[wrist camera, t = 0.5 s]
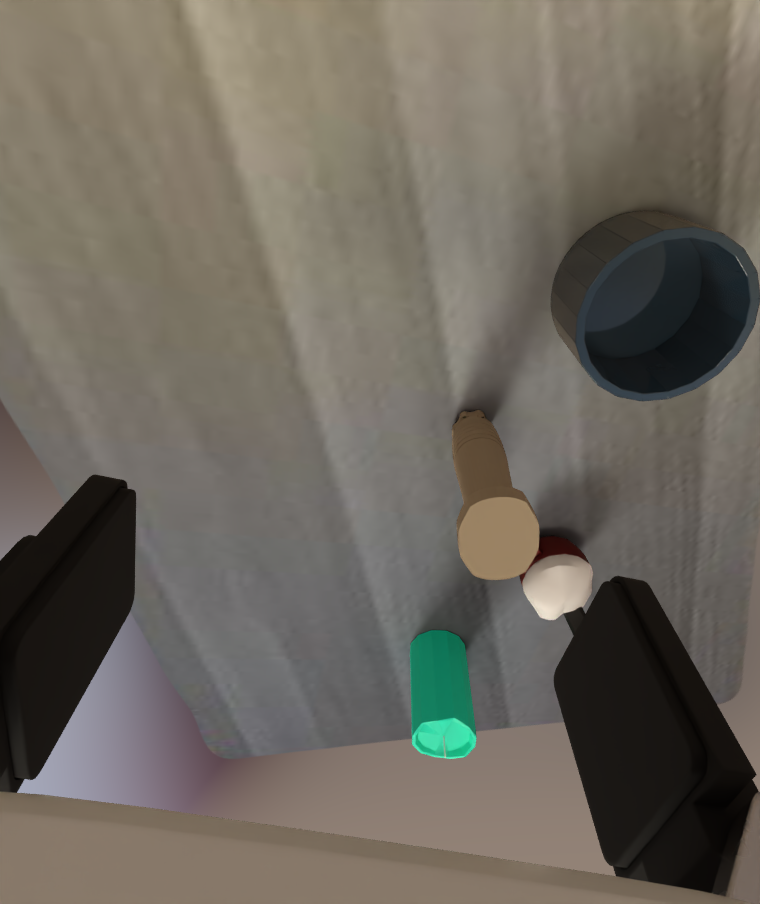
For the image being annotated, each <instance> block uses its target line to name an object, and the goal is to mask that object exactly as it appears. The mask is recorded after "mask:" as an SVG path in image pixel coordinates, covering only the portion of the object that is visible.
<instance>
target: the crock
mask: <svg viewBox="0 0 760 904" xmlns="http://www.w3.org/2000/svg"><path fill="white" fill-rule="evenodd" d="M759 303H760V289H759V281H758V273H757V270H756V268H755V266H754V265H753V263H752V261H751V259H750V258H749V256H748V254H747V252H746V251H745V249H744V248H743V247H742V246H740V245H739V244H737V243H736V242H735V241H733V240H732V239H730V238H729V237H728V236H726V235H725V234H723V233H721V232H718V231H716V230H713V229H710V228H707V227H704V226H702V225H699V224H696V223H693V222H690V221H688V220H685V219H682V218H679V217H676V216H672V215H668V214H664V213H661V212H655V211H635V212H628V213H624V214H620V215H617V216H615V217H612V218H610V219H607V220H606V221H604V222H602V223H600V224H598V225H597V226H595V227H594V228H592V229H591V230H589V231H588V232H587V233H586V234H585V235H583V236H582V237H581V238H580V239H579V240H578V241H577V242H576V243H575V244H574V245H573V247H572V248H571V249H570V250H569V252H568V253H567V255H566V256H565V258H564V259H563V261H562V263H561V265H560V266H559V269H558V271H557V273H556V276H555V279H554V283H553V286H552V293H551V312H552V317H553V321H554V324H555V327H556V329H557V331H558V334H559V336H560V337H561V338H562V340H563V341H564V343H565V344H566V345H567V347H568V348H569V349H570V351H571V352H572V353H573V355H574V356H575V357H576V359H577V360H578V361H579V363H580V364H581V366H582V367H583V368H584V369H585V371H586V372H587V373H588V375H589V376H590V377H591V378H592V380H593V381H594V382H595V383H596V384H597V385H598V386H600V387H601V388H603V389H605V390H606V391H608V392H610V393H612V394H613V395H615V396H617V397H622V398H627V399H632V400H637V401H651V400H663V399H669V398H672V397H675V396H678V395H681V394H683V393H686V392H689V391H692V390H694V389H696V388H698V387H699V386H701V385H702V384H704V383H705V382H707V381H708V380H710V379H711V378H713V377H715V376H716V375H718V374H719V373H720V372H721V371H722V370H723V369H724V368H725V367H726V366H727V365H728V364H729V363H730V362H731V361H732V359H733V358H734V357H735V356H736V355H737V354H738V353H739V352H740V351H741V349H742V347H743V345H744V344H745V342H746V340H747V338H748V336H749V334H750V333H751V331H752V329H753V327H754V325H755V321H756V316H757V312H758V307H759Z"/></svg>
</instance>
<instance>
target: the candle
mask: <svg viewBox="0 0 760 904" xmlns="http://www.w3.org/2000/svg"><path fill="white" fill-rule="evenodd" d="M410 668H411V714H412V745H414V747H415V748H416V749H417V750H418V751H419V752H420V753H423V754H426V755H430V756H433V757H441V758H448V759H453V758H461V757H466V756H467V755H468V754H469V753H470V752H471V751H472V749H473V748H474V747H475V743H476V729H475V721H474V713H473V705H472V697H471V689H470V681H469V673H468V665H467V658H466V650H465V644H464V643H463V642H462V640H461V639H460V637H459V636H457V635H455V634H453V633H451V632H449V631H446V630H430V631H428V632H425V633H422V634H420V635H418V636H417V637H416V638H415V639H414V640H413V642H412V643H411V647H410Z"/></svg>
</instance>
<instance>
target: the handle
mask: <svg viewBox="0 0 760 904" xmlns="http://www.w3.org/2000/svg"><path fill="white" fill-rule="evenodd" d="M452 437H453V439H452V449H453V459H454V467H455V471H456V475H457V478H458V482H459V486H460V489H461V493H462V497H463V501H464V505H463V507H462V509H461V511H460V513H459V516H458V519H457V537H458V546H459V552H460V556H461V558H462V560H463V562H464V563H465V565H466V566H467V567H468V569H469V570H470V571H471V573H472V574H473V575H474V576H476V577H479V578H482V579H488V580H502V579H509V578H513V577H516V576H518V575H520V574H522V573H524V572H526V570H527V569H528V567H529V566H530V564H531V563H532V561H533V559H534V558H535V556H536V554H537V551H538V547H539V524H538V520H537V517H536V515H535V512H534V510H533V508H532V507H531V505H530V503H529V501H528V500H527V498H526V497H525V495H524V494H523V492H522V491H520V490H517V489H515V488H513V487H512V482H511V477H510V472H509V467H508V462H507V457H506V454H505V451H504V448H503V445H502V442H501V440H500V438H499V435H498V433H497V431H496V430H495V428H494V427H493V425H492V423H491V422H490V421H488V420H487V419H486V418H485V415H484V413H483V412H482V411H480V410H476V411H474V412H466V411H463V412H462V413H460V417H459V420H458V421H457V423H455V424H454V425H453V428H452Z"/></svg>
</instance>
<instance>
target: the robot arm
mask: <svg viewBox="0 0 760 904" xmlns="http://www.w3.org/2000/svg"><path fill="white" fill-rule="evenodd" d="M135 533H136V493H135V491H134V490H131V489H128V488H127V483H126V481H124V480H120V479H115V478H110V477H105V476H100V475H92V476H91V477H89V478H88V479H87V481H86V482H85V483H84V484H83V485H82V486H81V487H80V488H79V489H78V491H77V492H76V493H75V494H74V495H73V496H72V497H71V498H70V499H69V501H68V502H67V503H66V504H65V505H64V506H63V507H62V509H60V511H59V512H58V513H57V514H56V515H55V516H54V517H53V519H51V521H50V522H49V523H48V524H47V525H46V526H45V527H44V528H43V529H42V530H41V532H40V533H39V534H38V535H37V536H32V535H28V536H26V537H23V538H22V539H21V540H20V541H19V542H17V543H16V544H15V545H14V547H13V548H12V549H11V550H10V551H9V552H8V553H7V554H6V555H5V556H4V557H3V558H2V559H1V561H0V904H760V792H759V791H758V789H757V787H756V786H755V784H754V782H753V780H752V779H753V778H754V777H755V775H756V773H755V771H754V769H753V768H752V766H751V764H750V762H749V760H748V759H747V757H746V755H745V753H744V752H743V750H742V748H741V747H740V745H739V743H738V741H737V739H736V738H735V736H734V734H733V732H732V730H731V729H730V727H729V725H728V723H727V722H726V720H725V718H724V716H723V715H722V713H721V711H720V709H719V708H718V706H717V704H716V702H715V701H714V699H713V697H712V695H711V693H710V692H709V690H708V688H707V686H706V685H705V683H704V681H703V679H702V678H701V676H700V674H699V672H698V671H697V669H696V667H695V665H694V664H693V662H692V660H691V658H690V656H689V655H688V653H687V651H686V649H685V648H684V646H683V644H682V642H681V641H680V639H679V637H678V635H677V634H676V632H675V630H674V628H673V627H672V625H671V623H670V621H669V619H668V618H667V616H666V614H665V612H664V611H663V609H662V607H661V605H660V604H659V602H658V600H657V598H656V597H655V595H654V593H653V591H652V589H651V588H650V586H649V585H648V584H647V583H646V582H644V581H641V580H636V579H631V578H626V577H621V576H615V577H614V578H612V579H611V580H610V582H609V581H606V582H604V583H603V584H602V585H601V587H600V588H599V590H598V592H597V594H596V596H595V598H594V600H593V601H592V603H591V605H590V607H589V609H588V611H587V612H586V614H585V616H584V618H583V620H582V622H581V624H580V625H579V627H578V629H577V631H576V633H575V635H574V637H573V638H572V640H571V642H570V644H569V646H568V648H567V649H566V651H565V653H564V655H563V657H562V659H561V661H560V662H559V664H558V666H557V668H556V670H555V674H554V687H555V691H556V695H557V698H558V701H559V705H560V708H561V712H562V715H563V719H564V722H565V726H566V729H567V732H568V736H569V739H570V743H571V746H572V750H573V753H574V757H575V760H576V764H577V767H578V770H579V774H580V777H581V781H582V784H583V788H584V791H585V794H586V798H587V802H588V805H589V808H590V812H591V815H592V819H593V822H594V826H595V829H596V833H597V836H598V839H599V843H600V846H601V850H602V853H603V856H604V858H605V860H606V862H607V863H608V864H609V865H611V866H613V867H614V871H615V874H616V876H610V875H604V874H597V873H591V872H585V871H577V870H571V869H564V868H558V867H552V866H545V865H538V864H532V863H525V862H519V861H512V860H506V859H499V858H493V857H486V856H479V855H473V854H466V853H459V852H452V851H445V850H439V849H432V848H426V847H419V846H412V845H405V844H398V843H392V842H385V841H378V840H371V839H364V838H357V837H350V836H343V835H337V834H330V833H323V832H316V831H309V830H302V829H296V828H288V827H281V826H274V825H267V824H260V823H253V822H245V821H239V820H232V819H225V818H218V817H210V816H203V815H196V814H188V813H181V812H175V811H168V810H161V809H154V808H146V807H138V806H130V805H122V804H114V803H106V802H98V801H89V800H81V799H73V798H65V797H56V796H49V795H39V794H25V793H17V791H18V790H19V788H20V786H21V784H22V783H23V781H24V779H30V780H33V779H35V778H36V777H37V775H38V774H39V773H40V771H41V769H42V768H43V766H44V764H45V763H46V760H47V759H48V757H49V755H50V754H51V752H52V750H53V748H54V746H55V745H56V743H57V741H58V739H59V737H60V736H61V734H62V732H63V730H64V728H65V727H66V725H67V723H68V721H69V720H70V718H71V716H72V714H73V712H74V711H75V709H76V707H77V705H78V704H79V702H80V700H81V698H82V696H83V695H84V693H85V691H86V689H87V687H88V685H89V684H90V682H91V680H92V679H93V677H94V675H95V673H96V671H97V669H98V668H99V666H100V664H101V662H102V660H103V659H104V657H105V655H106V654H107V652H108V650H109V648H110V646H111V645H112V643H113V641H114V639H115V637H116V636H117V634H118V632H119V630H120V629H121V626H122V625H123V623H124V621H125V620H126V618H127V616H128V614H129V612H130V610H131V607H132V604H133V600H134V593H135Z"/></svg>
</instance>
